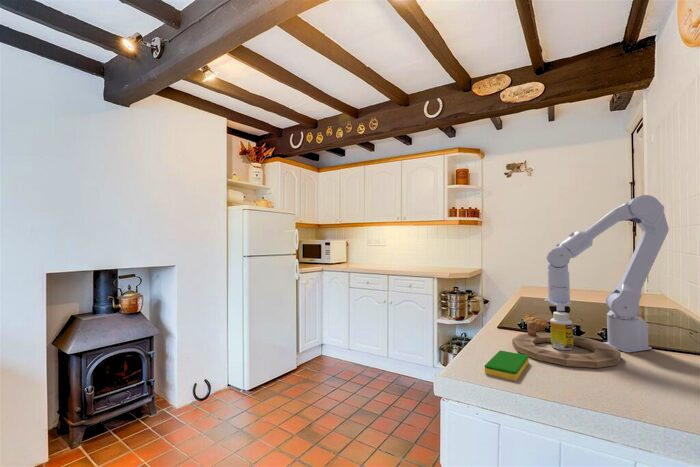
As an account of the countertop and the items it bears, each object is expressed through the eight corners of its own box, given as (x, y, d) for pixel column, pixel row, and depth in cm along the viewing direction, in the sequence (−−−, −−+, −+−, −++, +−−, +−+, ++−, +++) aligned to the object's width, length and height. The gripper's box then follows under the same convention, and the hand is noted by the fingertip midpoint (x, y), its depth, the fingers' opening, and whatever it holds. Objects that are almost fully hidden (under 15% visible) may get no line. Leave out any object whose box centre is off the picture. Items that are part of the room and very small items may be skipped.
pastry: (555, 330, 117) (555, 319, 117) (541, 332, 114) (541, 321, 115) (533, 324, 126) (532, 314, 126) (519, 326, 123) (518, 316, 123)
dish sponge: (529, 364, 87) (528, 354, 87) (516, 382, 76) (516, 372, 76) (500, 358, 91) (499, 349, 91) (484, 375, 81) (484, 365, 81)
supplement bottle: (568, 352, 94) (566, 316, 94) (547, 347, 99) (546, 312, 99) (577, 348, 97) (575, 313, 97) (556, 343, 102) (555, 310, 102)
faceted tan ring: (559, 334, 110) (558, 317, 110) (644, 360, 86) (643, 338, 86) (495, 342, 103) (494, 324, 104) (568, 372, 79) (567, 349, 79)
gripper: (543, 282, 113) (544, 323, 113) (544, 288, 101) (545, 333, 100) (568, 283, 110) (569, 325, 110) (572, 290, 97) (573, 336, 97)
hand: (560, 329), depth 105 cm, fingers closed
